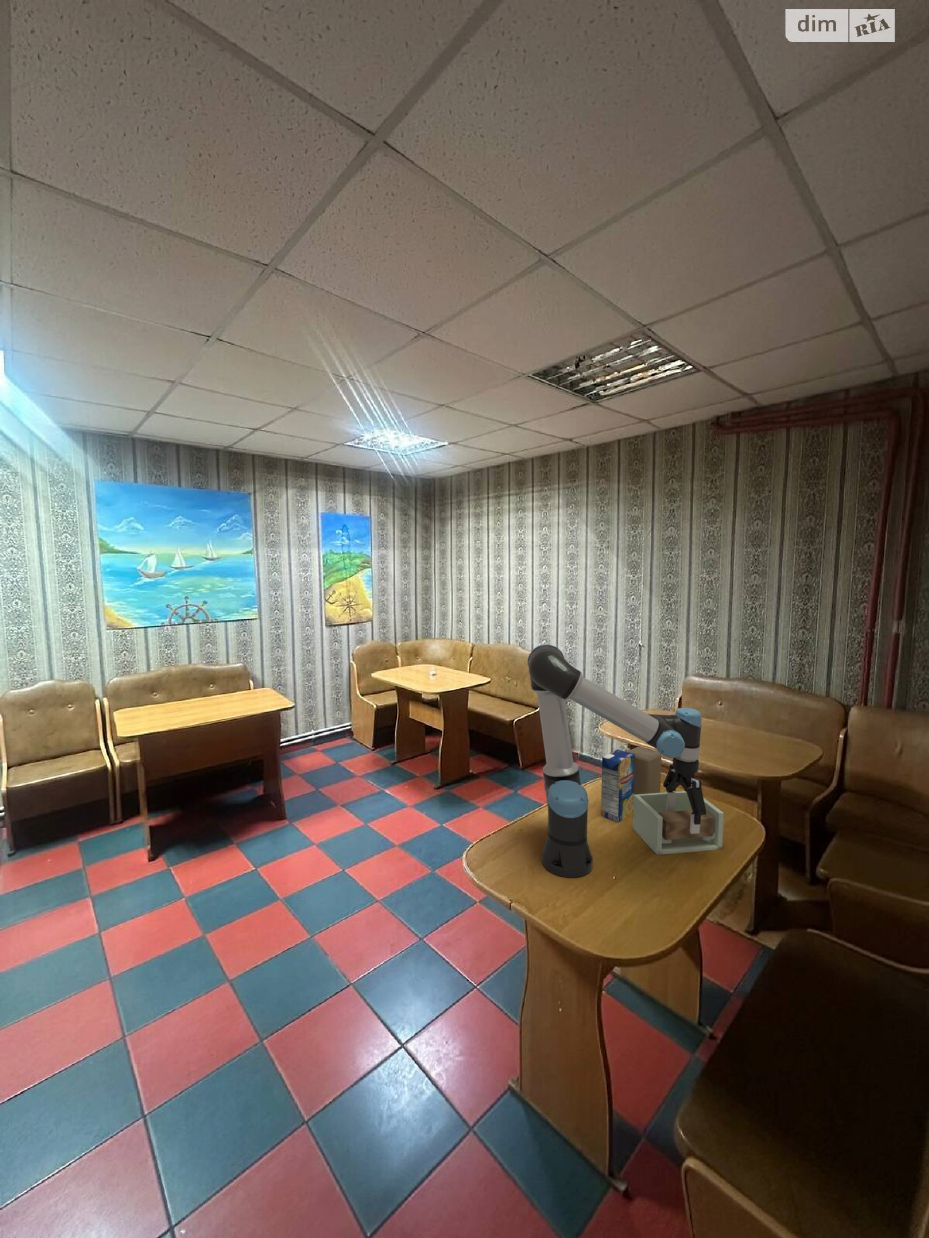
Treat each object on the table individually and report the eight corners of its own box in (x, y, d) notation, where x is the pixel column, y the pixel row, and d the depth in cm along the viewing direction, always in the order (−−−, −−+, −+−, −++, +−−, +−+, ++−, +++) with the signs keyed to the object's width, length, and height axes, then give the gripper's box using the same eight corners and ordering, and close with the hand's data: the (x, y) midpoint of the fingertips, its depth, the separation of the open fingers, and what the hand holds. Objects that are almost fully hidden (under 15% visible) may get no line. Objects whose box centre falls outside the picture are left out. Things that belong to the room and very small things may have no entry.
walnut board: (665, 840, 155) (666, 821, 154) (655, 830, 161) (656, 812, 160) (712, 836, 157) (713, 818, 156) (701, 826, 163) (702, 808, 162)
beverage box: (600, 816, 178) (602, 757, 176) (616, 805, 186) (617, 749, 183) (618, 823, 173) (619, 762, 171) (633, 812, 181) (635, 754, 178)
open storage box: (656, 854, 154) (658, 817, 153) (632, 828, 170) (633, 794, 168) (722, 849, 157) (723, 812, 156) (692, 823, 173) (693, 790, 171)
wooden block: (637, 794, 195) (638, 745, 193) (660, 803, 187) (662, 752, 185) (622, 802, 189) (624, 751, 187) (646, 811, 181) (648, 759, 179)
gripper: (722, 773, 145) (717, 842, 147) (675, 743, 169) (671, 802, 171) (698, 774, 144) (694, 843, 146) (654, 744, 168) (651, 803, 170)
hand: (682, 821), depth 159 cm, fingers open, 13 cm apart
